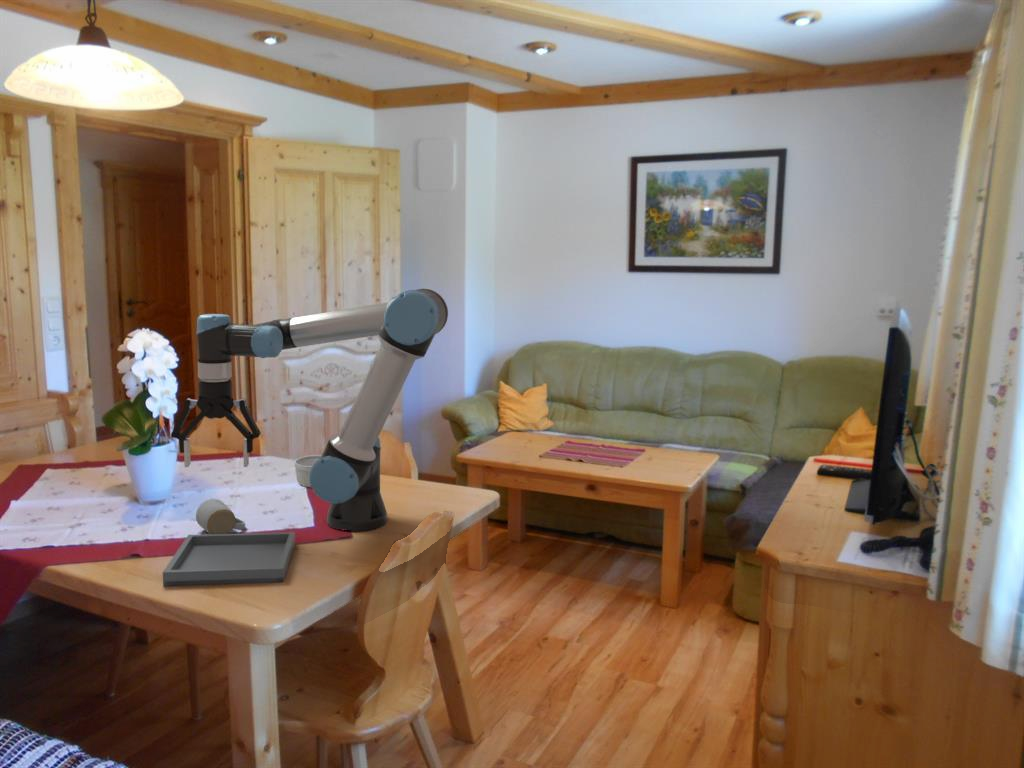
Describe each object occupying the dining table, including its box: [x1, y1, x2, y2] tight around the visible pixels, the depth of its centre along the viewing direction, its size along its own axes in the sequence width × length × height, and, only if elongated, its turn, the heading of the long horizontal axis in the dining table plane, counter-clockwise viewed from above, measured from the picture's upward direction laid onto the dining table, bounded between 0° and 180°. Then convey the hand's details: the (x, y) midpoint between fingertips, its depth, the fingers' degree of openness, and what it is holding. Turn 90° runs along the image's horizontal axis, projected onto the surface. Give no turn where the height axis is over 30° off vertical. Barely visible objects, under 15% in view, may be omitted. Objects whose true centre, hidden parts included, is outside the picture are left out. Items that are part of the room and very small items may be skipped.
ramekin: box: [293, 454, 322, 489], centre depth 238 cm, size 13×13×7 cm
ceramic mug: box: [195, 498, 247, 534], centre depth 196 cm, size 11×8×8 cm
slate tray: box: [162, 531, 296, 587], centre depth 176 cm, size 24×22×3 cm
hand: (217, 465), depth 193 cm, fingers open, 13 cm apart
